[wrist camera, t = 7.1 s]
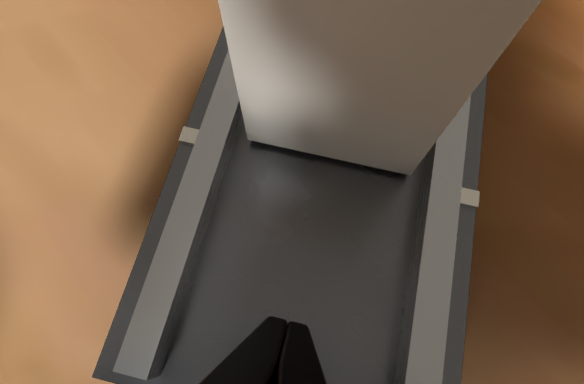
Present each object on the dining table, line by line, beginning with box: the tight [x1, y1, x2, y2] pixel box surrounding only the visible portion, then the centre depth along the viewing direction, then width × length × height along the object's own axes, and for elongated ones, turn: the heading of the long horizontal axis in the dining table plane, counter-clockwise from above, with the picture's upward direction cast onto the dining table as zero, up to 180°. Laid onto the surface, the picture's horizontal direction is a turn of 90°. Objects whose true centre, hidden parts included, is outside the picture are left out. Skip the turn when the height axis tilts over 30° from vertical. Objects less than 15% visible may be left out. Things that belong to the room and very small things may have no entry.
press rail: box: [92, 26, 488, 384], centre depth 14 cm, size 18×11×4 cm, turn 167°
